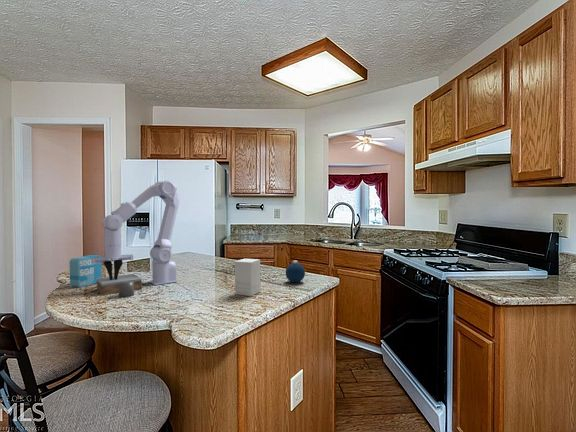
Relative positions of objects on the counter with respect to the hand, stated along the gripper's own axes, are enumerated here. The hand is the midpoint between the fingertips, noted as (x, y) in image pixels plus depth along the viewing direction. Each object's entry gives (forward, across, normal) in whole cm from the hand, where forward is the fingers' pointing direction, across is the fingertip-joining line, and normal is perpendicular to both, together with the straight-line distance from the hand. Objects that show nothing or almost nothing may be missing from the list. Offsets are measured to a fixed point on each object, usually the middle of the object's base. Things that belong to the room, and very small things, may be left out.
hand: (113, 279), depth 134 cm
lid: (+1, +2, 0) cm, 2 cm away
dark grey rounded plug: (+4, +2, -12) cm, 13 cm away
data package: (+4, -7, +18) cm, 20 cm away
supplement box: (+4, +39, -38) cm, 55 cm away
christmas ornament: (+4, +64, -36) cm, 74 cm away
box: (+4, +2, 0) cm, 5 cm away
